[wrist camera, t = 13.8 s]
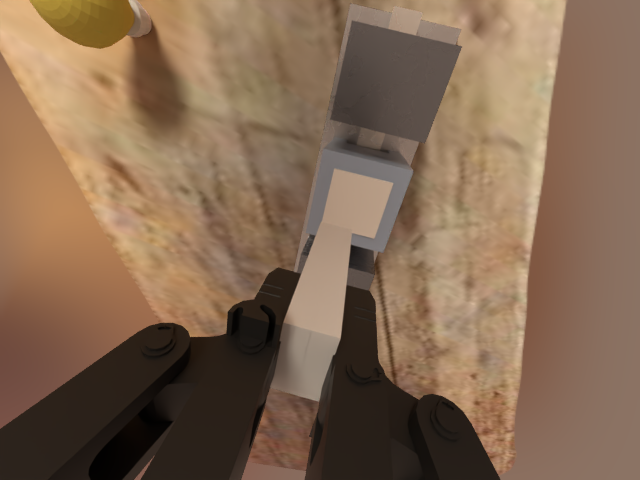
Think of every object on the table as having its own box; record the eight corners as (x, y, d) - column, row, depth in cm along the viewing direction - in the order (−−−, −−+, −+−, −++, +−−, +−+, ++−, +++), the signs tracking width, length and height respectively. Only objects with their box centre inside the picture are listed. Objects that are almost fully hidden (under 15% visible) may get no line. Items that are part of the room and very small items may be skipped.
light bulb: (182, 45, 29) (100, 18, 20) (134, 69, 30) (37, 53, 21) (148, -36, 26) (35, -109, 17) (97, -5, 28) (-29, -57, 19)
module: (334, 137, 29) (322, 149, 21) (400, 153, 29) (414, 171, 21) (320, 201, 33) (305, 233, 25) (379, 216, 32) (383, 254, 24)
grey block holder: (350, 6, 25) (342, -48, 16) (457, 32, 25) (509, -10, 16) (294, 270, 39) (273, 319, 30) (362, 289, 39) (361, 344, 30)
